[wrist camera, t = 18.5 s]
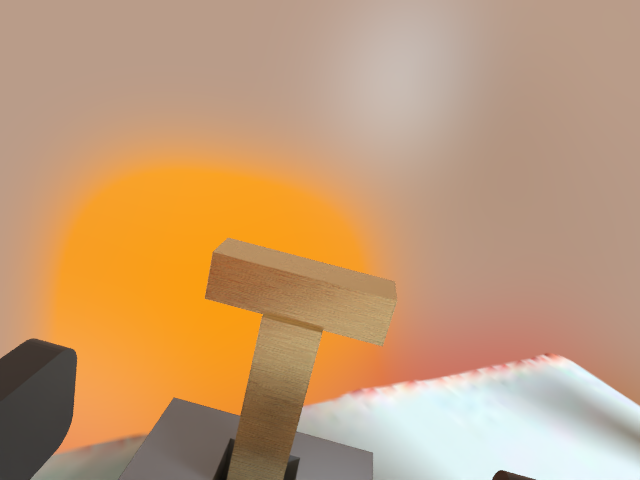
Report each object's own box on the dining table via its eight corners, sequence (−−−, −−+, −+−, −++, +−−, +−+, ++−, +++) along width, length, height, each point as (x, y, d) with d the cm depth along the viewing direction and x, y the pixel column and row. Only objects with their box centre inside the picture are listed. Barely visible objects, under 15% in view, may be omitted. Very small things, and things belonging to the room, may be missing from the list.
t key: (315, 538, 30) (394, 279, 24) (308, 584, 27) (397, 303, 22) (181, 499, 30) (229, 236, 25) (161, 541, 28) (210, 253, 22)
